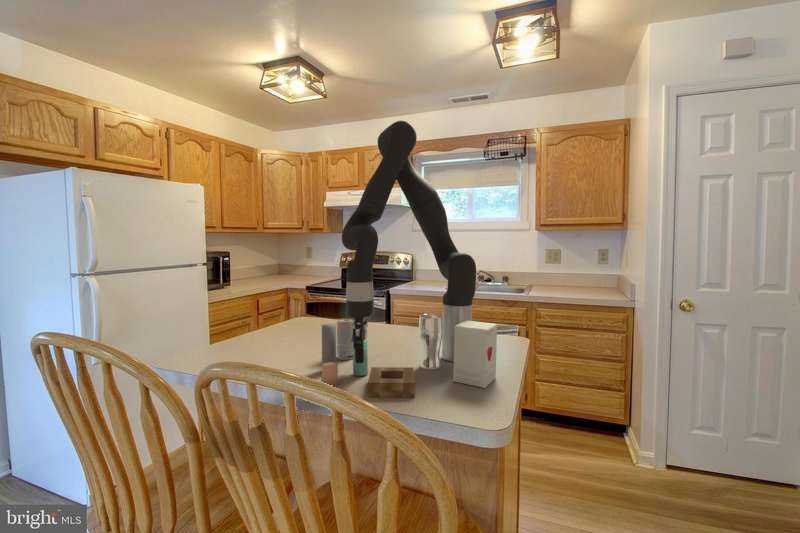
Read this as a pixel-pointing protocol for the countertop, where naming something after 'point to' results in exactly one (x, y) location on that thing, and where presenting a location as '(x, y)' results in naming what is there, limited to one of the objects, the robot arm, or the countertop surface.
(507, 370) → the countertop surface
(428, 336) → the beer glass
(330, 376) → the short dowel
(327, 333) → the long dowel
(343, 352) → the energy drink
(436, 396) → the countertop surface
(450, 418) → the countertop surface
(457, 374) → the supplement box
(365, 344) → the medium dowel
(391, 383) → the brown wooden square frame
